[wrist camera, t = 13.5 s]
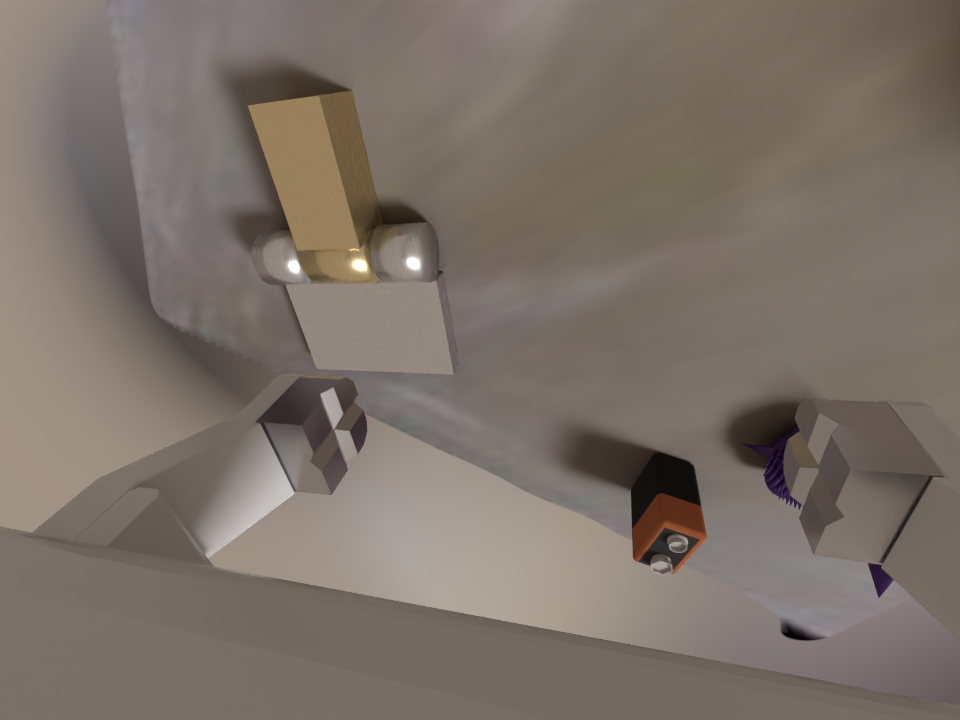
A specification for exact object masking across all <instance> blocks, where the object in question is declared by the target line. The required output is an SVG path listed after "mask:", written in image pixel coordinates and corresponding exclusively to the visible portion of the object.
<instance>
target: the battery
mask: <svg viewBox="0 0 960 720" xmlns="http://www.w3.org/2000/svg"><path fill="white" fill-rule="evenodd" d="M631 507H632V542H633V558H634V560H635V561H637V562H640V563H643V564H646V565H648V566H651V569H652V572H655V573H658V574H660V575H665V574H668V573H672V574H674V573H675V572H677V570H679V568H680V567H681V566H682V565H683V564H684V563H685V562H686V561H687V560H688V558H689V557H690V556H691V555H692V554H693V553H694V552H695V551H696V549H697V548H698V547H699V546H700V545H701V544H702V543H703V542H704V541H705V539H706V537H707V535H706V529H705V523H704V518H703V512H702V507H701V501H700V496H699V490H698V485H697V479H696V474H695V469H694V466H693V465H692V464H689V463H686V462H683V461H680V460H677V459H674V458H671V457H668V456H665V455H662V454H658V453H656V454H655V455H654V456H653V457H652V459H651V460H650V462H649V463H648V465H647V466H646V468H645V469H644V471H643V472H642V474H641V476H640V477H639V479H638V480H637V482H636V483H635V485H634V486H633V488H632V490H631Z"/></svg>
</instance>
